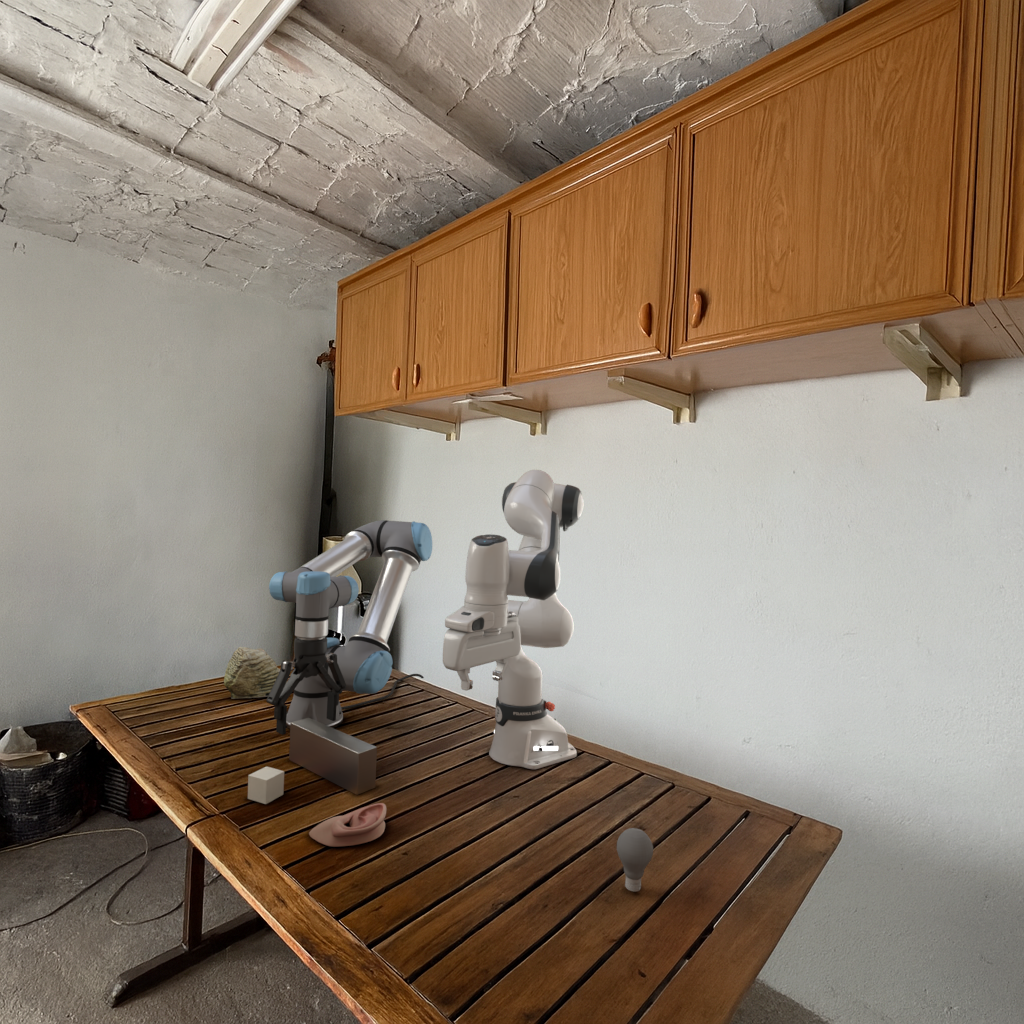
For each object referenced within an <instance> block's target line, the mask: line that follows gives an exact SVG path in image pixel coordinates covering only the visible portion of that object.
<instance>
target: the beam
mask: <svg viewBox="0 0 1024 1024" xmlns="http://www.w3.org/2000/svg"><path fill="white" fill-rule="evenodd" d="M288 755H289V756H288V760H289V761H290V762H292V763H294V764H296V765H298V766H300V767H303V768H304V769H306V770H308V771H309V772H312V773H313V774H315V775H318V776H319V777H321V778H323V779H325V780H327V781H329V782H330V783H333V784H335V785H336V786H339V787H341V788H342V789H345V790H346V791H348V792H350V793H352V794H354V795H356V796H358V795H360V794H363V793H365V792H368V791H370V790H373V789H376V783H377V782H376V781H377V760H378V759H377V758H378V757H377V756H378V746H375V745H374V744H371V743H369V742H366V741H364V740H361V739H360V738H357V737H355V736H352V735H350V734H348V733H345V732H343V731H341V730H339V729H336V728H332V727H329V726H327V725H325V724H322V723H320V722H318V721H315V720H313V719H311V718H305V719H302V720H298V721H295V722H291V723H290V729H289V751H288Z"/></svg>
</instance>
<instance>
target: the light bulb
mask: <svg viewBox="0 0 1024 1024" xmlns="http://www.w3.org/2000/svg"><path fill="white" fill-rule="evenodd" d="M616 852H617V856H618V858H619V860H620V862H621V864H622V866H623V872H624V875H625V882H624V887H625V889H627V890H628V891H630V892H633V893H634V892H635V893H636V892H639V891H641V889H642V878H643V876H644V875H645V869H646V868H647V867H648V865H649V864H650V862H651V860H652V858H653V855H654V845H653V842H652V840H651V838H650V836H649V835H648V834H647V832H645V831H644V830H642V829H640V828H636V827H629V828H627V829H625V830H624V831H623V832H622V833H620V835H619V836H618V839H617V841H616Z"/></svg>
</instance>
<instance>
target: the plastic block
mask: <svg viewBox="0 0 1024 1024" xmlns="http://www.w3.org/2000/svg"><path fill="white" fill-rule="evenodd" d="M247 776H248V777H247V779H248V780H247V800H250V801H254V802H257V803H260V804H264V805H268V804H269V803H271V802H273V801H274V800H276V799H278V798H279V797H282V796H283V795H284V793H285V792H284V789H285V788H284V787H285V771H284V770H281V769H278V768H274V767H270V766H265V767H262V768H260V769H258V770H256V771H254V772H252V773H250V774H248V775H247Z"/></svg>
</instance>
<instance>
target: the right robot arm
mask: <svg viewBox="0 0 1024 1024" xmlns="http://www.w3.org/2000/svg"><path fill="white" fill-rule="evenodd" d="M502 493H503V494H502V496H501V507H502V513H503V515H504V518H505V521H506V523H507V525H508V526H509V527H510V529H512V530H513V531H514V532H515V533H516V534H519V535H521V536H522V538H521V541H520V545H519V547H518V550H517V549H516V550H515V549H509V541H508V539H507V538H506V537H505V536H502V535H499V534H480V535H476V536H475V537H473V538H471V540H470V542H469V545H468V551H467V556H466V564H465V575H464V577H465V585H466V593H465V595H464V599H463V600H464V601H463V604H464V605H462V606H461V607H460V608H458V609H457V610H455V611H454V612H452V613H451V614H449V615H447V616H446V617H445V619H444V626H445V628H447V630H446V632H445V633H444V637H443V642H442V643H443V644H442V664H443V666H444V667H445V669H447V670H450V671H454V672H457V675H458V677H459V679H460V689H461V690H463V691H466V692H467V691H470V690H472V689H473V687H474V686H473V684H474V680H473V679H470V676H469V674H470V673H471V668H472V669H473V668H475V667H478V666H482V665H486V664H490V663H494V662H495V664H496V667H495V669H494V670H492V680H493V681H496V682H497V697H496V699H495V709H494V710H495V711H494V714H495V715H494V718H495V726H494V730H493V738H492V741H491V745H490V748H489V751H488V755H489V757H490V758H491V760H493V761H495V762H496V763H499V764H503V765H507V766H511V767H521V768H525V769H528V770H538V769H541V768H544V767H548V766H551V765H555V764H558V763H561V762H564V761H568V760H572V759H574V758H577V756H578V753H577V749H576V748H575V747H574V745H572V744H571V742H569V737H568V732H567V730H566V728H565V727H564V726H563V725H562V724H561V723H560V722H559V721H557V719H556V718H554V717H552V716H551V715H550V714H549V713H548V711H549V712H554V711H555V709H556V705H555V704H554V703H553V702H551V701H547V700H545V699H544V698H542V697H543V696H542V693H543V671H542V668H541V667H540V665H539V664H538V663H537V662H536V661H535V660H533V659H532V658H530V657H529V656H528V655H527V654H526V653H525V651H524V650H523V646H525V647H534V648H541V649H551V648H552V649H554V648H562V647H563V648H564V647H565V646H566V645H568V643H569V642H570V641H571V639H572V637H573V635H574V630H575V622H574V618H573V615H572V613H571V612H570V611H569V610H568V608H567V607H565V606H564V605H563V604H562V602H561V601H560V600H559V598H558V595H557V592H558V589H559V586H560V584H561V566H560V550H561V549H560V548H561V529H562V531H563V532H567V531H568V530H569V528H570V527H572V526H575V524H576V523H577V522H578V521H579V520H580V518H581V515H582V513H583V511H584V507H585V506H584V503H585V501H584V497H583V493H582V491H581V490H580V488H579V487H577V486H576V485H575V486H574V485H571V484H561V483H554V480H553V478H552V477H551V476H550V475H549V474H548V473H547V472H546V471H543V470H540V469H530V470H527V471H525V472H524V473H523V474H522V475H521V476H520V477H519V478H518V479H517V481H515V482H511V483H509V484H508V485H507V486H506V487H504V490H503V492H502ZM508 596H513V597H523V598H528V600H523V601H522V600H514V599H509V597H508ZM547 710H548V711H547Z"/></svg>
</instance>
